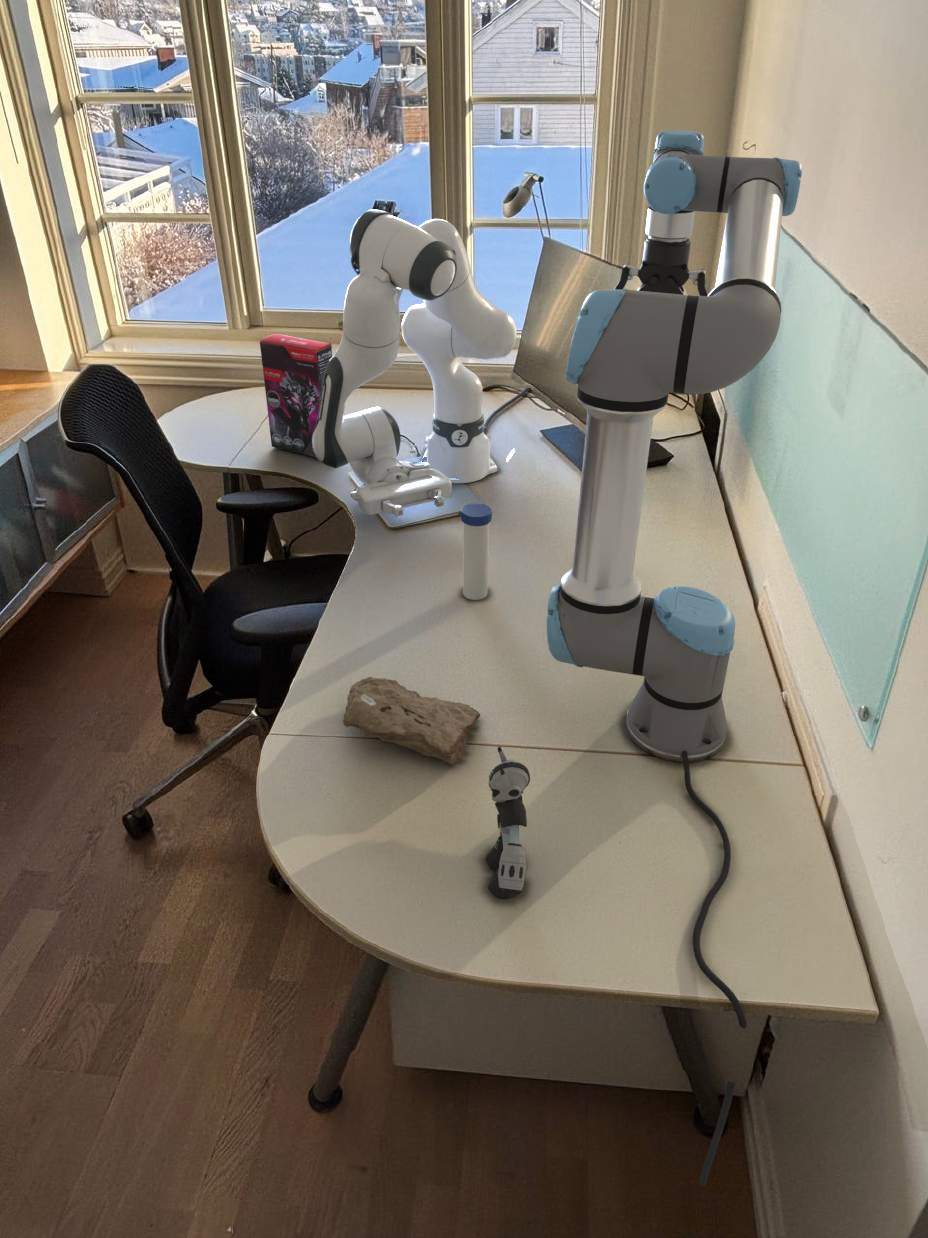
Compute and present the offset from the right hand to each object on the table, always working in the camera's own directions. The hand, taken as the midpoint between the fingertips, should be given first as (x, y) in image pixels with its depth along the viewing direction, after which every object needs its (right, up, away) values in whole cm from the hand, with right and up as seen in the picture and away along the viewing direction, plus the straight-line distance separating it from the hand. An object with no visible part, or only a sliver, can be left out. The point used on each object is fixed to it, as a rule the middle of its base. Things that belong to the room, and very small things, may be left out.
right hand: (652, 364), depth 163 cm
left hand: (-42, -22, +25) cm, 54 cm away
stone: (-42, -62, -21) cm, 78 cm away
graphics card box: (-73, -3, +68) cm, 100 cm away
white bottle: (-31, -40, +13) cm, 52 cm away
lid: (-31, -26, +3) cm, 40 cm away
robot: (-28, -78, -44) cm, 94 cm away
